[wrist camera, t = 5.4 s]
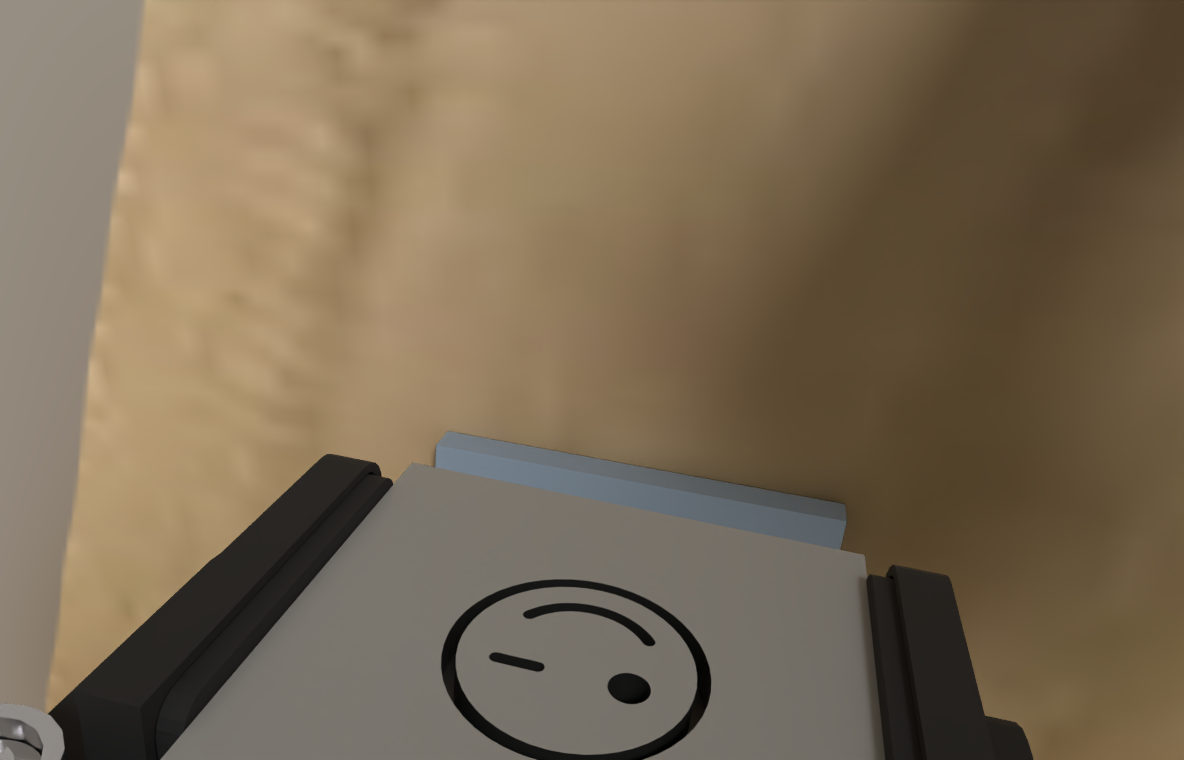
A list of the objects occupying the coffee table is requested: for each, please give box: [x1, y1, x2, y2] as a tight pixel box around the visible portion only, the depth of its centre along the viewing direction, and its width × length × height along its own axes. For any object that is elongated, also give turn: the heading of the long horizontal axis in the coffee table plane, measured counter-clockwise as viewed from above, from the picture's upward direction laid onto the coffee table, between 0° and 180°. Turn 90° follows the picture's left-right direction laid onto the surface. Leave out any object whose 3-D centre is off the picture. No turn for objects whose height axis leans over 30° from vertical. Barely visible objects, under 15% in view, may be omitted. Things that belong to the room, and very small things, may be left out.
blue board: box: [435, 431, 847, 550], centre depth 30 cm, size 16×12×1 cm
